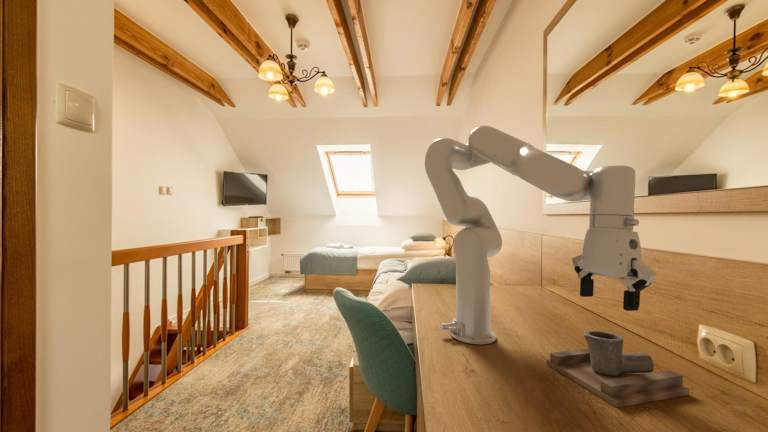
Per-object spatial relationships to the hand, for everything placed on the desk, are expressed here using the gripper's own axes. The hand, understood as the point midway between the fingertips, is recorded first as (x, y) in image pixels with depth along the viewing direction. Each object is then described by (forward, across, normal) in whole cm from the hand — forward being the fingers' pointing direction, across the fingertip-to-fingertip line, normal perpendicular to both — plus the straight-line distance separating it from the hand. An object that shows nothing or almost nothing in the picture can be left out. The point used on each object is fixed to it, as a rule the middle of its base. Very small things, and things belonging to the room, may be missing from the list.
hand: (606, 302), depth 63 cm
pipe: (+15, -1, -2) cm, 15 cm away
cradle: (+16, -1, -1) cm, 16 cm away
